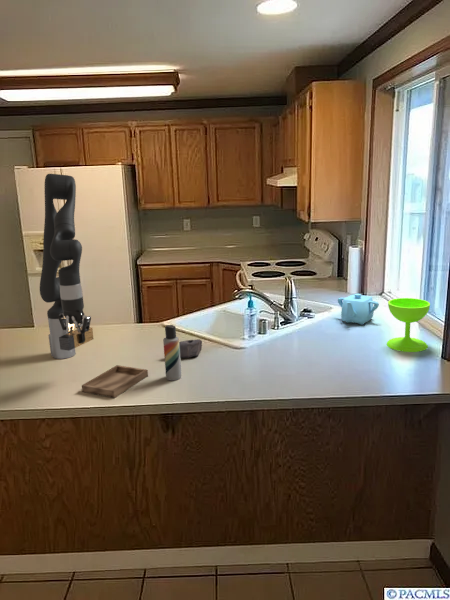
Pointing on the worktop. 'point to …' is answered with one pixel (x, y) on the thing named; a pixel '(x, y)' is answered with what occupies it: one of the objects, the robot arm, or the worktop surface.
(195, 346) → the perforated stone tool
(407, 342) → the wineglass
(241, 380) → the worktop surface
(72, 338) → the battery cell
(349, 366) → the worktop surface
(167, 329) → the lotion bottle
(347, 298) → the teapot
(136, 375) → the brown wooden tray
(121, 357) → the worktop surface
